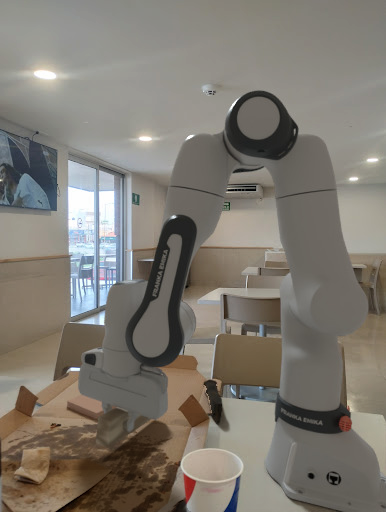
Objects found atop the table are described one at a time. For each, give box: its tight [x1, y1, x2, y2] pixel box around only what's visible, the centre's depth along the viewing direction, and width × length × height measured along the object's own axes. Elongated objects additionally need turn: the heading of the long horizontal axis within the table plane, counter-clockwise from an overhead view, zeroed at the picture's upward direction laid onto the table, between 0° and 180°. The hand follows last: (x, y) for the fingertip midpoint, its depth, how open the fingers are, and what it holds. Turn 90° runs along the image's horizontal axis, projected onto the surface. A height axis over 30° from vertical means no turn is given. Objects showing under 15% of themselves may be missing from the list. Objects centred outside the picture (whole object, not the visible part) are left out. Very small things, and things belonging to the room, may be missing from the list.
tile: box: [66, 394, 116, 421], centre depth 91 cm, size 2×7×10 cm
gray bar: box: [95, 407, 152, 449], centre depth 80 cm, size 3×20×5 cm, turn 153°
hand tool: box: [203, 379, 223, 425], centre depth 96 cm, size 19×4×5 cm, turn 1°
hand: (119, 426), depth 75 cm, fingers closed on gray bar, 3 cm apart
